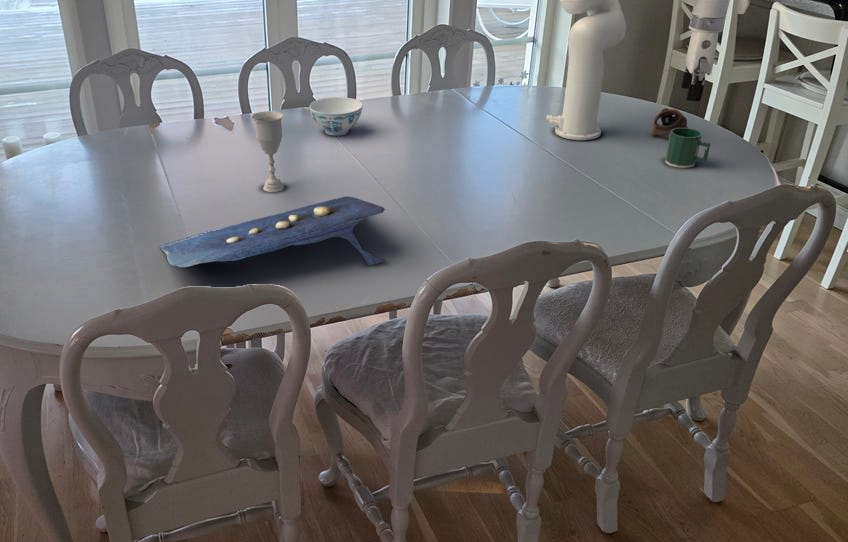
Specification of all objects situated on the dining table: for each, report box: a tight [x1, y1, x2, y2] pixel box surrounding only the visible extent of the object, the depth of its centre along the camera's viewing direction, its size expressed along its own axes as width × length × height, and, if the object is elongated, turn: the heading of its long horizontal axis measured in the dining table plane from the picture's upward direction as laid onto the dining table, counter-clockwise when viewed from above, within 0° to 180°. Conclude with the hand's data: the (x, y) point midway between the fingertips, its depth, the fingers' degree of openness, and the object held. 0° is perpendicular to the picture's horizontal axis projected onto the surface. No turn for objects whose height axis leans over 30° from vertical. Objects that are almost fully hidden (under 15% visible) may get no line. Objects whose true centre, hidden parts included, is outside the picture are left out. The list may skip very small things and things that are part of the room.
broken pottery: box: [651, 107, 689, 137], centre depth 218 cm, size 12×10×8 cm
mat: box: [158, 196, 386, 268], centre depth 163 cm, size 45×27×12 cm, turn 114°
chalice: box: [251, 110, 285, 193], centre depth 187 cm, size 7×7×18 cm
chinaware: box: [309, 96, 364, 137], centre depth 223 cm, size 15×15×8 cm
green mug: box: [664, 127, 711, 169], centre depth 198 cm, size 10×7×8 cm
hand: (690, 94), depth 193 cm, fingers open, 9 cm apart
